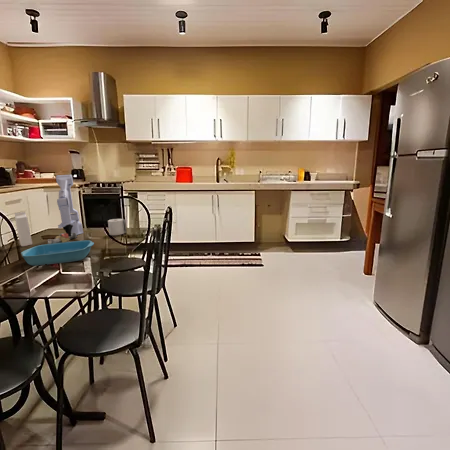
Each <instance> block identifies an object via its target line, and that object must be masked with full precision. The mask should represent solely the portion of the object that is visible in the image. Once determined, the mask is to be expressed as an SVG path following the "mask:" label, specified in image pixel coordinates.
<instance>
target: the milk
mask: <svg viewBox="0 0 450 450" xmlns="http://www.w3.org/2000/svg"><path fill="white" fill-rule="evenodd" d="M14 220H15V221H14V222H15V225H16V230H17V234H18V235H17V236H18V239H19V245H20V246H21V247H27V246H32V245H33V240H32V235H31V230H30V225H29V220H28V216H27V213H26V211H21V212H15V213H14Z"/></svg>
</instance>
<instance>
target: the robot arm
mask: <svg viewBox="0 0 450 450" xmlns="http://www.w3.org/2000/svg"><path fill="white" fill-rule="evenodd" d="M55 180H56V184H57V185H58V186H59V188H60V190H59V191H58V198H57V200H56V204H57V206H58V210H59V213H60V220H61V222H60V224H58V225H57V226H58V227H57V228H58V229H63V230H64V231H65V233H67V234H68V236H71V232H73V233H76V235H77V236H78V235H81V234H84V230H83V229H84V228H83V224H82V222H81V221H80V220H81V219H80V214H79V211H78V210H77V209H75V208H74V203H73V198H72V197H73V196H72V190H71V188H72V187H73V186H74V178H73V175H72V174H71V173H70V174H61V175H60V174H59V175H55Z"/></svg>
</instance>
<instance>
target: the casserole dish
mask: <svg viewBox="0 0 450 450" xmlns="http://www.w3.org/2000/svg"><path fill="white" fill-rule="evenodd" d="M94 244H95V242H93V241H92V240H90V239H88V240H85V239H84V240H75V241H74V240H73V241H66V242H63V243H53V244H48V243H47V244H41V245H40V244H39V245H36V246H33V247H30V248H28V249H25V250H23V251H21V252H20V254H21V257H22V258H23V259H24V260H25V262H26V263H27V265H30V266H44V265H45V264H47V265H54V264H65V263H71V262H72V263H73V262H77V261H82V260H83V259H85V258H86V257H87V256H88V255H89V253H90V252H91V250H92V249H91V248H92V247H93V246H94ZM45 266H46V265H45Z"/></svg>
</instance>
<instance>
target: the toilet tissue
mask: <svg viewBox="0 0 450 450" xmlns="http://www.w3.org/2000/svg"><path fill="white" fill-rule="evenodd" d="M126 223H127V222H126V219H124V218H112V219H109V220H107V224H108V232H109V233H108V234H109V235H110V236H119V235H123V234H125V233H128V231H127V224H126Z"/></svg>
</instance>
